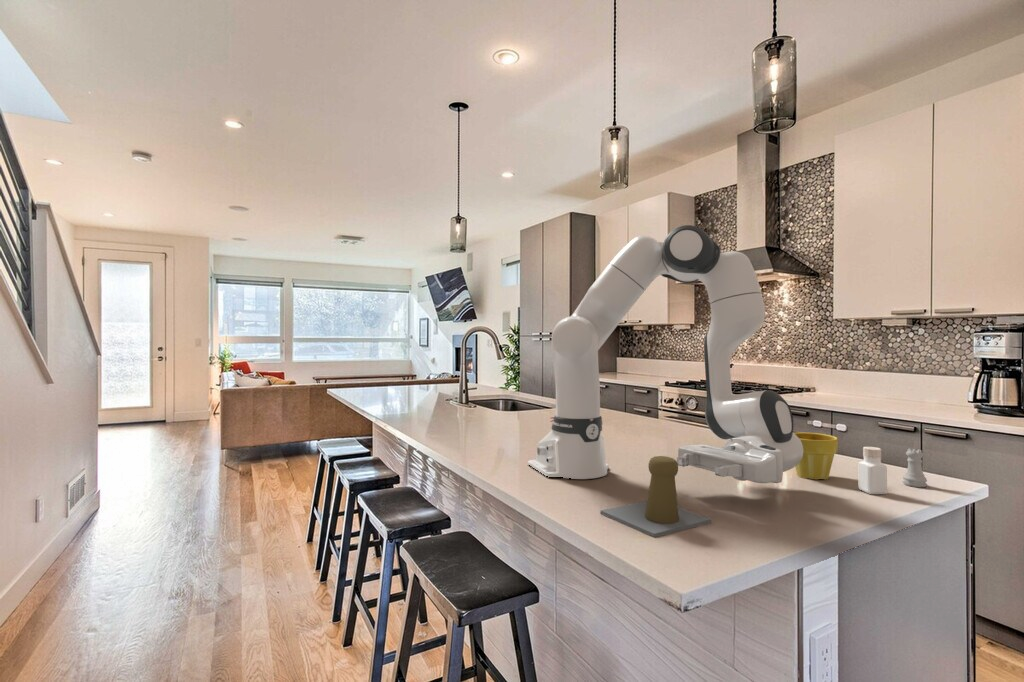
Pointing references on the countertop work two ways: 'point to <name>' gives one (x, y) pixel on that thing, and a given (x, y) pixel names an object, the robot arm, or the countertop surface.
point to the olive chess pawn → (662, 491)
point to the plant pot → (816, 455)
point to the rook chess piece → (914, 469)
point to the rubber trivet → (637, 520)
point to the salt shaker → (872, 472)
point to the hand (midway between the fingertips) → (697, 466)
